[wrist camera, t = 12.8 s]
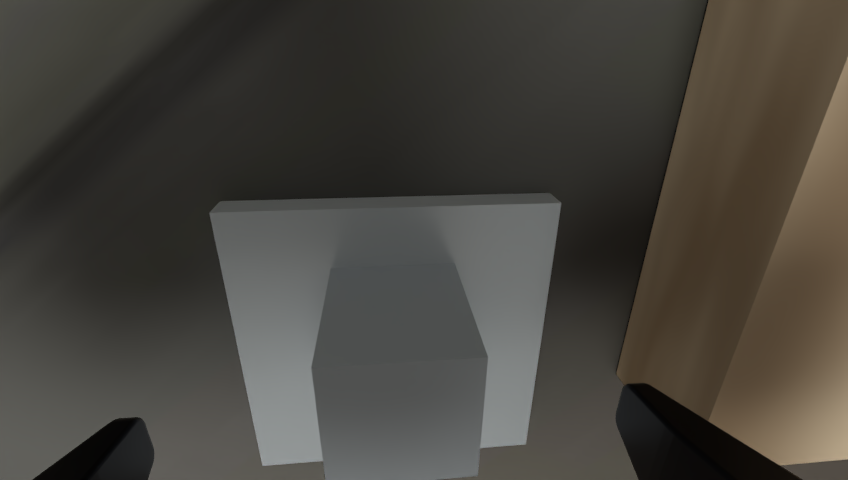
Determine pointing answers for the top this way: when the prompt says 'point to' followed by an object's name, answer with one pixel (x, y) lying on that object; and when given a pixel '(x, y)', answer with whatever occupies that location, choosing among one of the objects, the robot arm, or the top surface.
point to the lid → (388, 326)
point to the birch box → (755, 235)
